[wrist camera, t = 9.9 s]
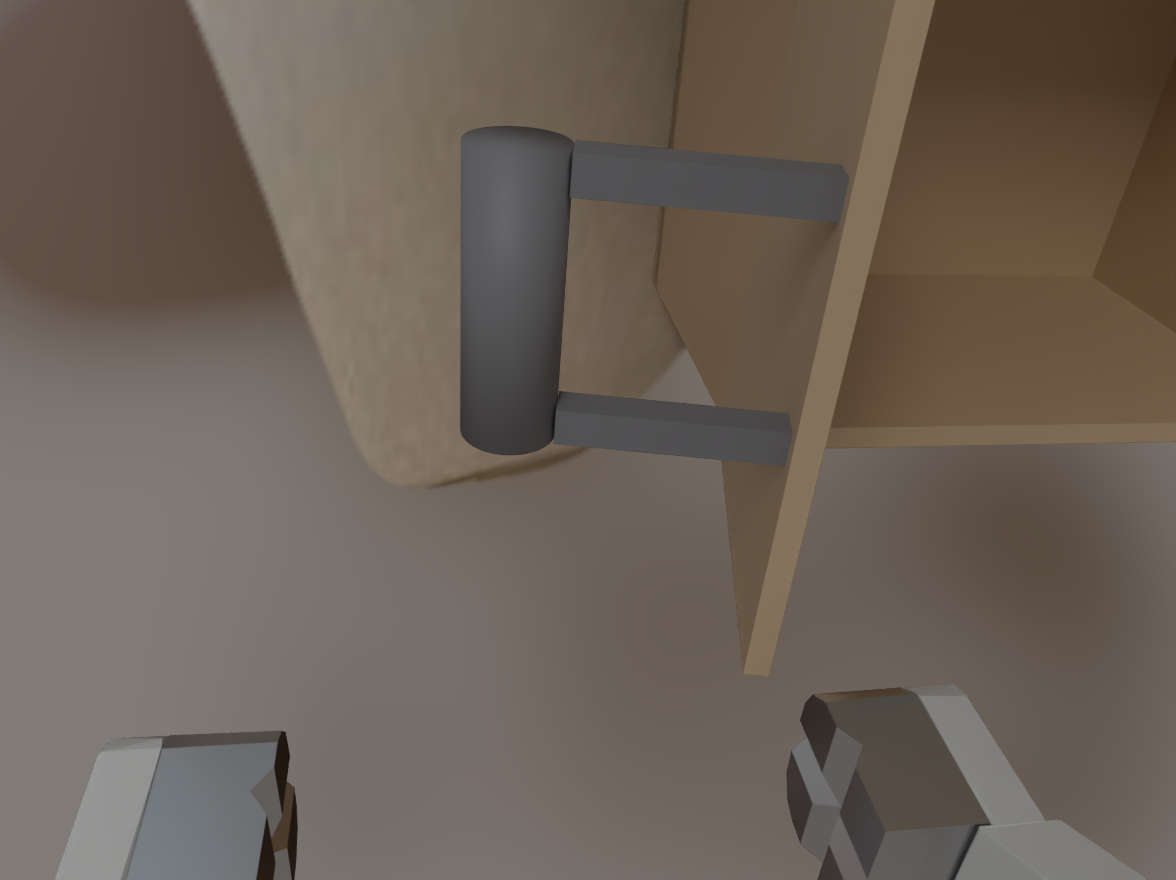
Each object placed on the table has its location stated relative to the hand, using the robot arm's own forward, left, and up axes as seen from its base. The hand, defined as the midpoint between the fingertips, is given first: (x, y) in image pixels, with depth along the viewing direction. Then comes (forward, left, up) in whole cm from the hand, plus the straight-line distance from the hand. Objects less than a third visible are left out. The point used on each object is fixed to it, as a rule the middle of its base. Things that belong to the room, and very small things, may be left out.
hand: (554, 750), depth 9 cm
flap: (0, +8, -14) cm, 16 cm away
